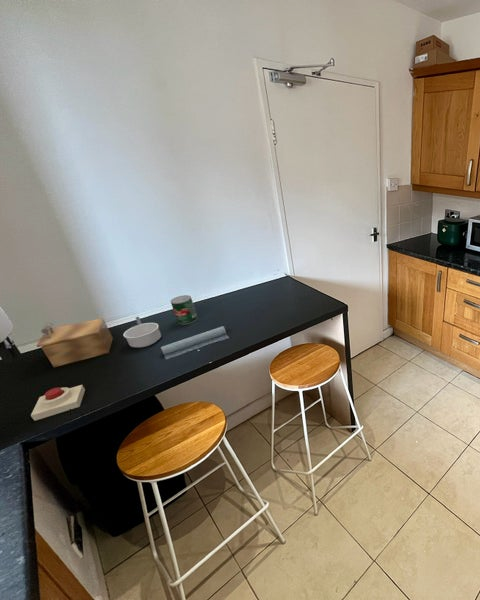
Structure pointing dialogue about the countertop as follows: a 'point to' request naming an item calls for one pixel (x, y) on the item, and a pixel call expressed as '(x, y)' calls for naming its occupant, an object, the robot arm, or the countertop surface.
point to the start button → (53, 393)
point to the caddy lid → (69, 332)
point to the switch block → (58, 403)
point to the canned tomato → (184, 309)
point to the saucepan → (142, 334)
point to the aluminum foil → (194, 342)
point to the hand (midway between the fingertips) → (13, 358)
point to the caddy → (79, 348)
